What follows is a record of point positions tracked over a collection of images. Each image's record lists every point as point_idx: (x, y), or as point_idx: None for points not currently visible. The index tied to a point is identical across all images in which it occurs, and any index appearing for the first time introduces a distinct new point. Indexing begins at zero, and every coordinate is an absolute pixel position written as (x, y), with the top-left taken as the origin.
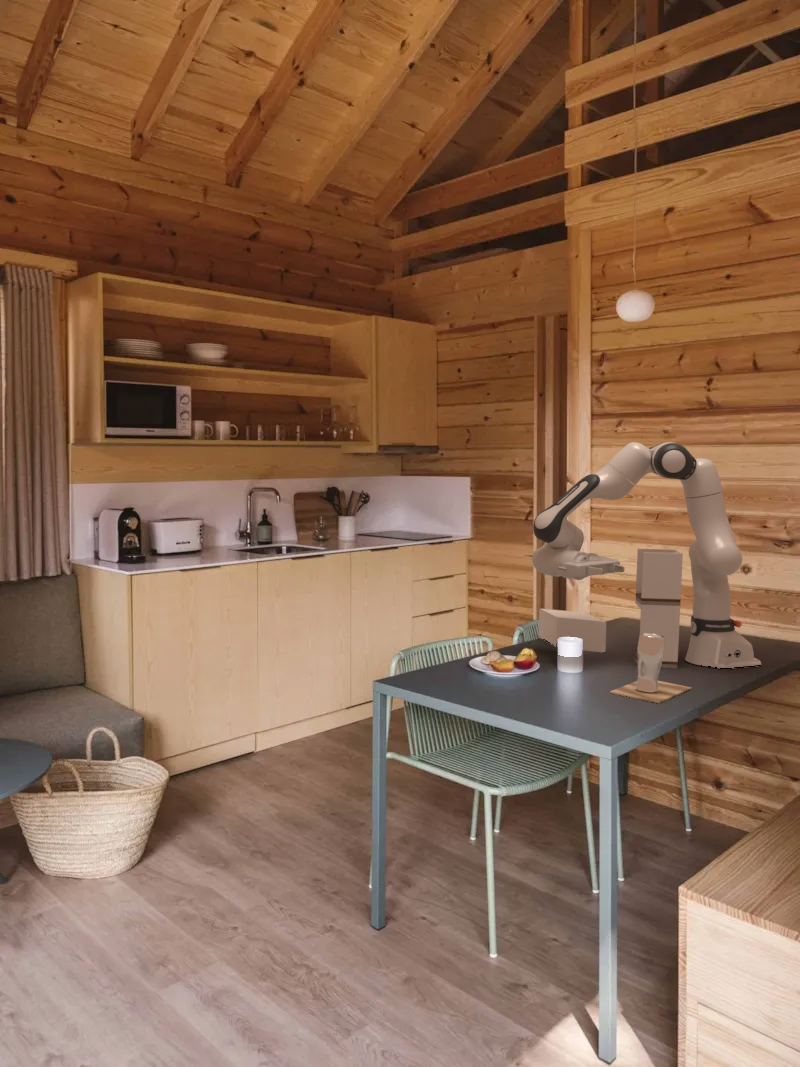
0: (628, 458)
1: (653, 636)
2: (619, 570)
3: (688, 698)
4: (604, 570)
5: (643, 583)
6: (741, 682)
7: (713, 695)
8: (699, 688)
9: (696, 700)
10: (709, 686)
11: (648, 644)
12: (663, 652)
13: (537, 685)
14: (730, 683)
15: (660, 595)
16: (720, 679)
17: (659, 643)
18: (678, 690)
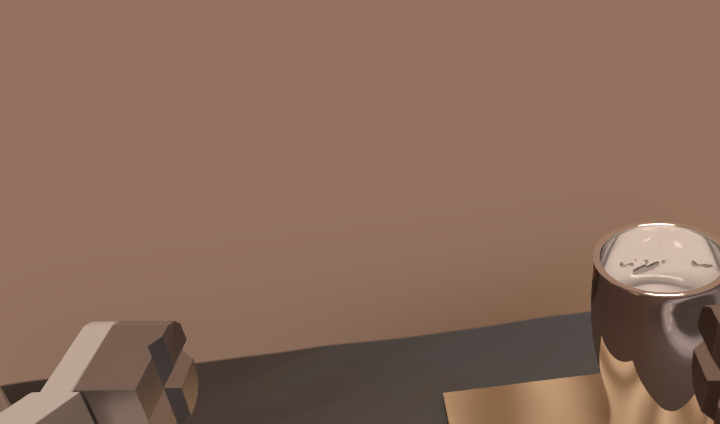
0: None
1: (610, 288)
2: (176, 398)
3: (558, 351)
4: (700, 320)
5: (2, 403)
6: (213, 362)
7: (449, 332)
8: (406, 391)
9: (553, 330)
10: (350, 387)
11: (716, 267)
12: (623, 283)
13: None
14: (253, 372)
15: (2, 394)
16: (218, 413)
17: (663, 244)
18: (526, 396)
